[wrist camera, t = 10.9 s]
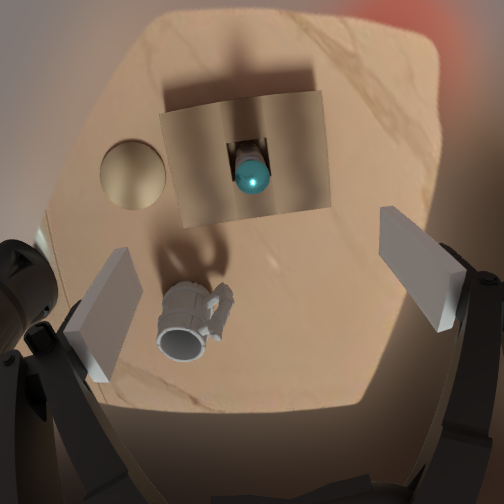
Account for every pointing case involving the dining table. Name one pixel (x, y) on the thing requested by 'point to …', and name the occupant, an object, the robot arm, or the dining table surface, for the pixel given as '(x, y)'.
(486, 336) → the robot arm
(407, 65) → the dining table surface
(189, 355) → the mug
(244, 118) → the hole board
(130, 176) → the coaster
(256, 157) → the peg
